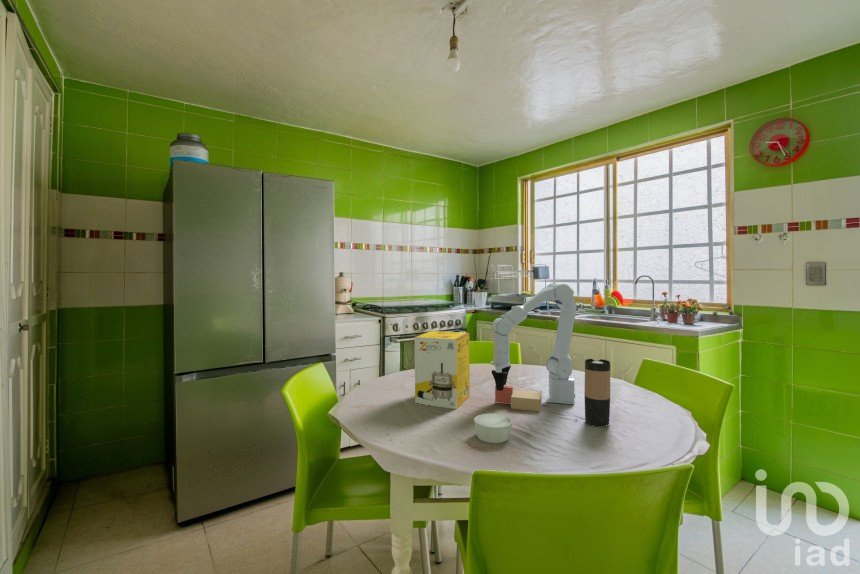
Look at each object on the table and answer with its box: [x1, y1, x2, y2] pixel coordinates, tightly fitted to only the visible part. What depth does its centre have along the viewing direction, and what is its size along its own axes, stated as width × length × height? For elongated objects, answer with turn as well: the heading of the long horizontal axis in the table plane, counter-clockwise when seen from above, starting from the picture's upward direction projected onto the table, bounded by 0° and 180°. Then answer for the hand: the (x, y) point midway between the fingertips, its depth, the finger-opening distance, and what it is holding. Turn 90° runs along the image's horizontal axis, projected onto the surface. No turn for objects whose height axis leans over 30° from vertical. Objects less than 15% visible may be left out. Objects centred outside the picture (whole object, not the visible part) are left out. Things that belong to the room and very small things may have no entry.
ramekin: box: [473, 413, 513, 444], centre depth 119 cm, size 11×11×5 cm
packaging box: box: [414, 330, 471, 410], centre depth 154 cm, size 16×16×25 cm
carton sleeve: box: [510, 389, 543, 412], centre depth 146 cm, size 10×9×4 cm
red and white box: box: [494, 385, 514, 405], centre depth 147 cm, size 15×8×6 cm, turn 72°
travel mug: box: [584, 358, 611, 427], centre depth 129 cm, size 8×8×20 cm
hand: (501, 387), depth 149 cm, fingers open, 7 cm apart
